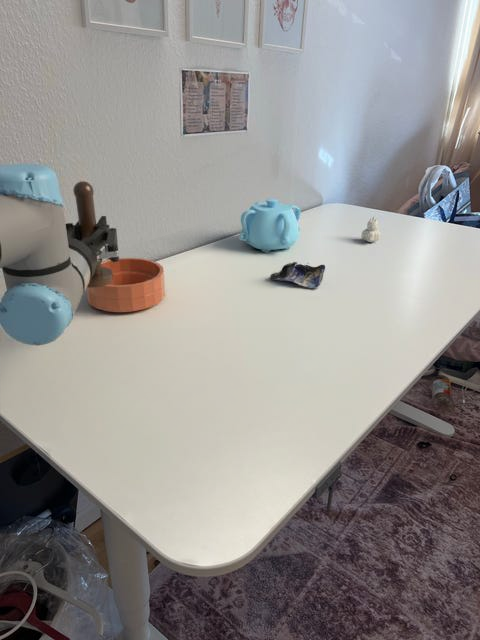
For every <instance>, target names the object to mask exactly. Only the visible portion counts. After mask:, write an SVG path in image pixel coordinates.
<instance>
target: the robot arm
mask: <svg viewBox="0 0 480 640" xmlns="http://www.w3.org/2000/svg"><path fill="white" fill-rule="evenodd" d="M64 207H65V203H64V202H63V197H62V191H61V188H60V183H59V181H58V176H57V174H56V172H55V171H54V170H53V169H52V168H50V167H49V166H46V165H43V164H37V163H9V164H1V165H0V269H1V270H2V275H3V279H4V283H5V288H6V291H5V292H4V294H3V295H2V297H1V300H0V326H1V328H2V330H3V331H4V332H5V333H6V334H7V335H8V337H10V338H12V339H13V340H15V341H16V342H19V343H21V344H24V345H28V346H29V345H30V346H43V345H48V344H51V343H52V342H55V341H57V340H58V339H59V338H60V337H61V336H62V335H63V333H64V332H65V330H66V329H67V327H69V326H70V325H71V323H72V322H73V319H74V316H75V313H76V311H77V309H78V307H79V305H80V302H81V300H82V297H83V295H84V294H85V293H86V288H87V286H88V284H89V282H90V280H91V278H92V276H93V274H94V272H95V269H96V265H98V264H100V263H101V262H103V260H106V261H107V260H111V261H112V262H118V261H119V258H120V254H119V245H118V232H117V228H116V227H111V228H110V224H108V222H107V216H106V215H101V216H100V218H99V219H98V221H97V222H96V226H95V230H96V231H95V232H94V233H93V234H92V235H91V236H90V237H85V238H84V239H82V240H81V234H80V226H79V220H77V222H76V223H75V224H74V223H72V222H66V218H65V217H66V216H65V211H64ZM103 247H104V248H103ZM101 249H102V250H101Z"/></svg>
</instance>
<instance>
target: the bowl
mask: <svg viewBox="0 0 480 640" xmlns="http://www.w3.org/2000/svg"><path fill="white" fill-rule="evenodd" d="M101 267H106V268H109V269H111V270H112V273H113V281H112V282H111V283H110V284H108V285H105V286H101V287H94V288H88V287H87V288H86V290H85V293H86V301H87V302H88V303H89V305H90V306H91V307H93V308H96V309H97V310H101V311H104V312H109V313H110V312H111V313H112V312H113V313H132V312H136V311H137V312H138V311H141V310H145V309H149V308H151V307H153V306H156V305H157V304H158V303H160V302H162V301H163V299H164V298H165V296H166V287H165V286H166V285H165V270H164V266H163V265H162V264H160V263H159V262H157V261H155V260H152V259H147V258H141V257H140V258H139V257H119V261H118V262H112V261H111V260H107V259H106V260H102V262H101Z"/></svg>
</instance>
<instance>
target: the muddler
mask: <svg viewBox="0 0 480 640" xmlns="http://www.w3.org/2000/svg"><path fill="white" fill-rule="evenodd" d="M72 191H73V195H74V197H75V205H76V210H77V218H78V221H79V226H80V234H81V240H82V239H84V238H85V237H90V236H91V235H92V234H93V233H94V232H95V231H96V230H95V226H96V224H97V218H96V217H97V216H96V209H95V201H94V200H95V199H94V195H95V192H94V191H95V190H94V188H93V185H91V184H90V183H89V182H87V181H78V182H77V183H75V184H74V186H73V189H72ZM112 281H113V273H112V270H111V269H109V268H106V267H101V263H100V264H98V265H96V269H95V272H94V274H93V276H92V278H91V280H90V282H89V284H88V286H87V287H88V288H94V287H101V286H105V285H108V284H110V283H111V282H112Z"/></svg>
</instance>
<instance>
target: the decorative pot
mask: <svg viewBox="0 0 480 640" xmlns="http://www.w3.org/2000/svg"><path fill="white" fill-rule="evenodd" d="M265 201H266V202H262V201H257V202H255V203H254V204H252V205H251V206H250V208H249V209H247V210H246V211H243V213H242V214H241V215H240V224H241V232H239V234H238V238H239V240H240V241H242V242H245V243H247V244H248V245H249V246H250V247H253V248H255V249H258V250H260V251H261V252H263V253H269V252H271V250H281V249H282V250H289V249H290V247H292V246H294V245H296V242H297V241H298V240H299V239H300V231H301V228H300V225H299V221H300V218H301V209H300V208H299V207H298V206H296V205H294V204H290V205H289V204H286V203H283V202H279V199H277V198H267V199H266V200H265ZM294 210H295V212H294Z"/></svg>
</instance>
